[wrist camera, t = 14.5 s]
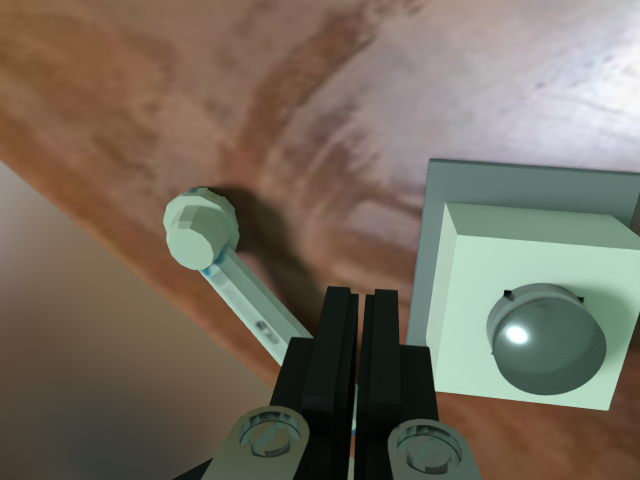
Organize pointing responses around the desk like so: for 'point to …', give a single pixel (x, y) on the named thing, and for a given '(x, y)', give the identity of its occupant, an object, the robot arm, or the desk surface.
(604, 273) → the hitch block
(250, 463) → the robot arm
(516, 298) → the steel pin
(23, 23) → the desk surface
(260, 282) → the white flashlight
